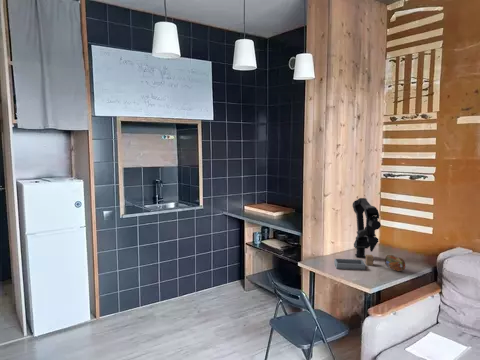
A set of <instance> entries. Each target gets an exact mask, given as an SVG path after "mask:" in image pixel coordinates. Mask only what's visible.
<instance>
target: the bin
mask: <svg viewBox="0 0 480 360" xmlns="http://www.w3.org/2000/svg"><path fill="white" fill-rule="evenodd" d="M333 264H334V266H335V269H336V270H354V271H356V270H357V271H359V270H360V271H365V270H366V263H365V262H364V261H363V259H354V258H353V259H352V258H334V263H333Z"/></svg>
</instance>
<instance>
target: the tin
mask: <svg viewBox="0 0 480 360" xmlns="http://www.w3.org/2000/svg"><path fill="white" fill-rule="evenodd" d="M384 263H385V265H386V267H387V268H388V269H391V270H394V271H396V272H403V271H405V269H406V261H405V259H403V258H402V257H399V256H397V255H393V254H387V255H386V256H385V259H384Z"/></svg>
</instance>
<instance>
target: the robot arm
mask: <svg viewBox="0 0 480 360" xmlns="http://www.w3.org/2000/svg"><path fill="white" fill-rule="evenodd" d="M352 208H353V209H352V210H353V212H354V213H355V215H356V226H357V227H356V228H357V231H356V236H355V241H354V243H353V247H354V248H355V250H356V253H355V254H354V255H355V257H356V258H365V259H366V250H367V249H369V251H370V252H373V251H374V249H375V247H376V246H377V244H379V238H378V237H377V235H376V231H377V230H379V229H380V228H381V226H382V224H381V221H379V220H380V213H379V211H378V209H377V207H376V206H374V205H372V204H370V202H369V201H368V199H367V198H365V197H359V198H358V199H355V200H354V201H353V202H352ZM364 215H365V218H366V219H364ZM364 220H365V221H364ZM364 222H365V224H364Z"/></svg>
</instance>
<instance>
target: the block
mask: <svg viewBox="0 0 480 360" xmlns="http://www.w3.org/2000/svg"><path fill="white" fill-rule="evenodd" d="M365 256H366V258H365V262H364V263H365V266H374V255H373V254H365Z"/></svg>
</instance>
